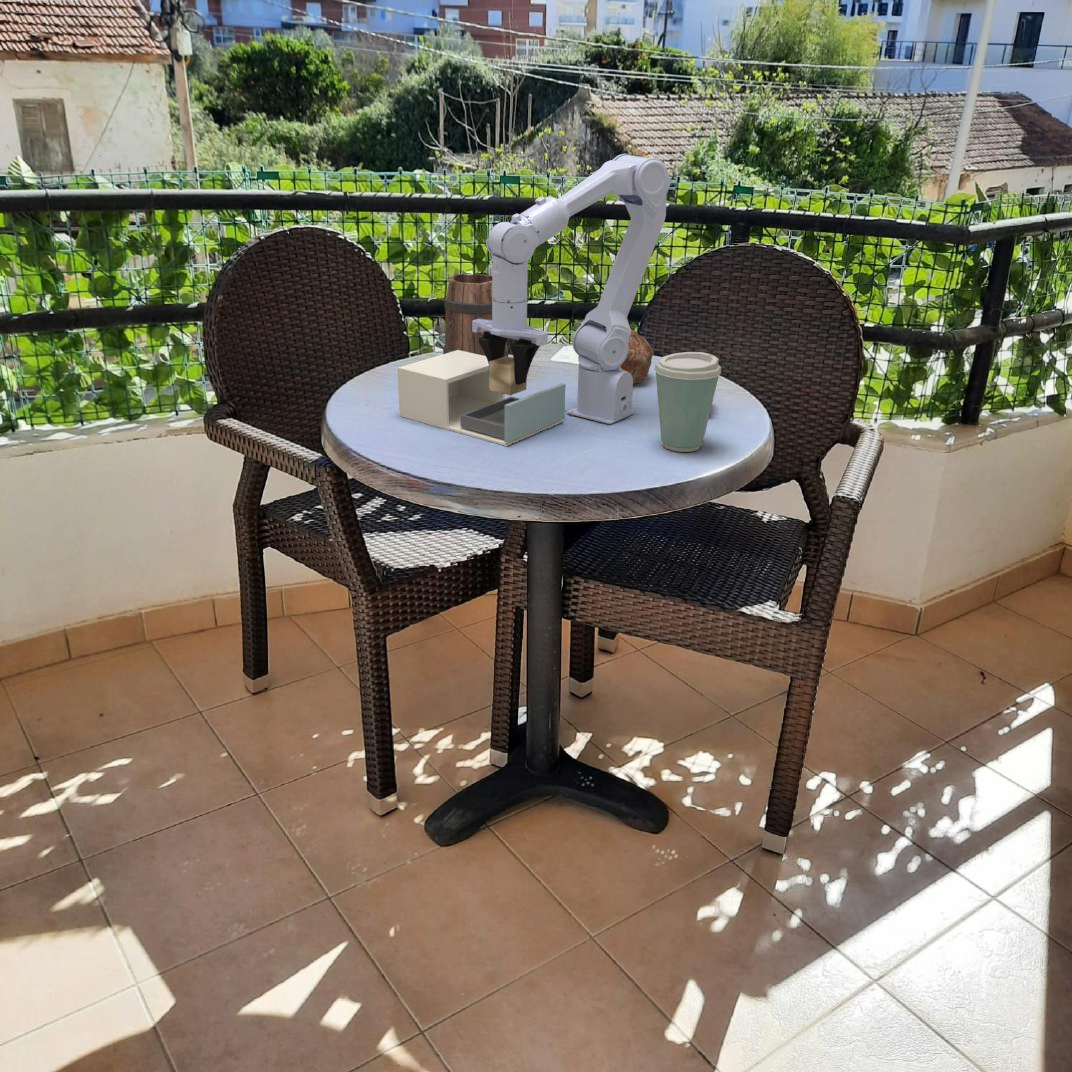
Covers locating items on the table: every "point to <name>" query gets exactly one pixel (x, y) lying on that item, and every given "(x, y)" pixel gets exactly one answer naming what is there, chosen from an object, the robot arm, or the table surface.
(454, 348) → the tankard
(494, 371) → the birch block
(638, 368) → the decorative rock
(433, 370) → the console box
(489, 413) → the teal drawer
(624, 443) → the table surface
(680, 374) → the disposable coffee cup
